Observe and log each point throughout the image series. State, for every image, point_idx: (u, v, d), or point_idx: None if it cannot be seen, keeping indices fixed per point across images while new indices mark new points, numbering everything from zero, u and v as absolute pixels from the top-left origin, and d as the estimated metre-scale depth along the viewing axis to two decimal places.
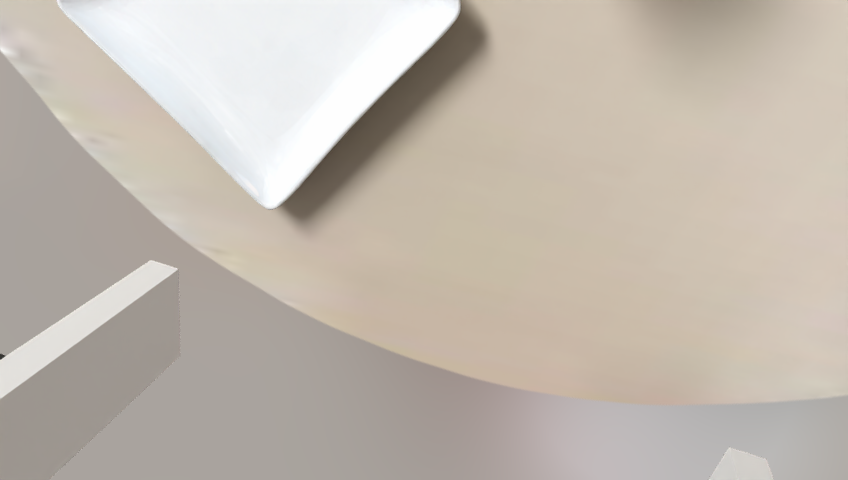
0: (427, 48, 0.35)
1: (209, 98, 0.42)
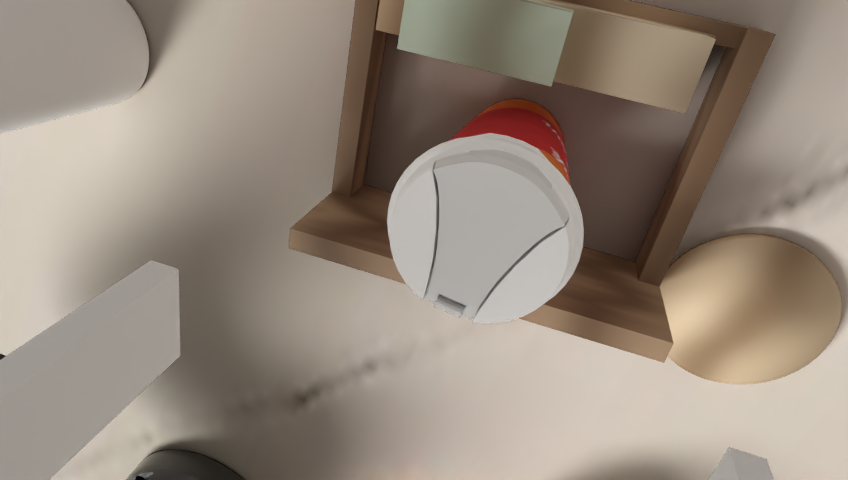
0: None
1: None
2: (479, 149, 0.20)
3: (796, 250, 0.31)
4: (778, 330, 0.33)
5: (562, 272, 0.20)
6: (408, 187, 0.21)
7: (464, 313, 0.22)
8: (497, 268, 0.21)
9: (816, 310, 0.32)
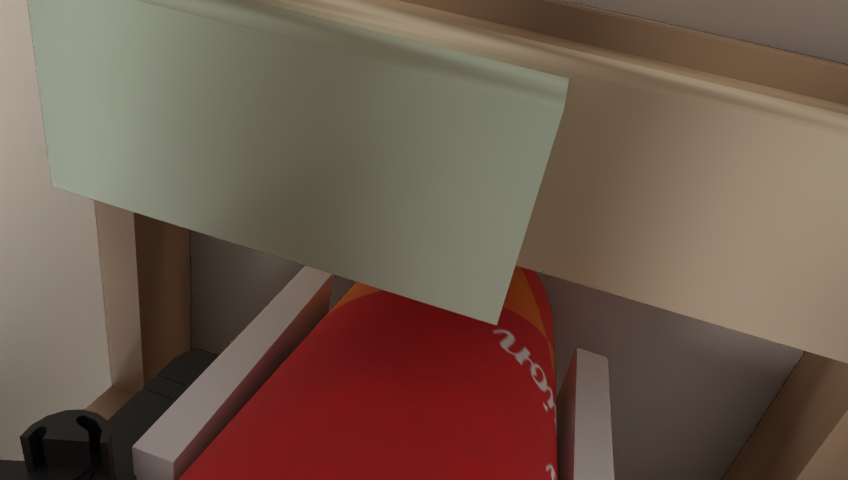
0: None
1: None
2: None
3: None
4: None
5: None
6: None
7: None
8: None
9: None
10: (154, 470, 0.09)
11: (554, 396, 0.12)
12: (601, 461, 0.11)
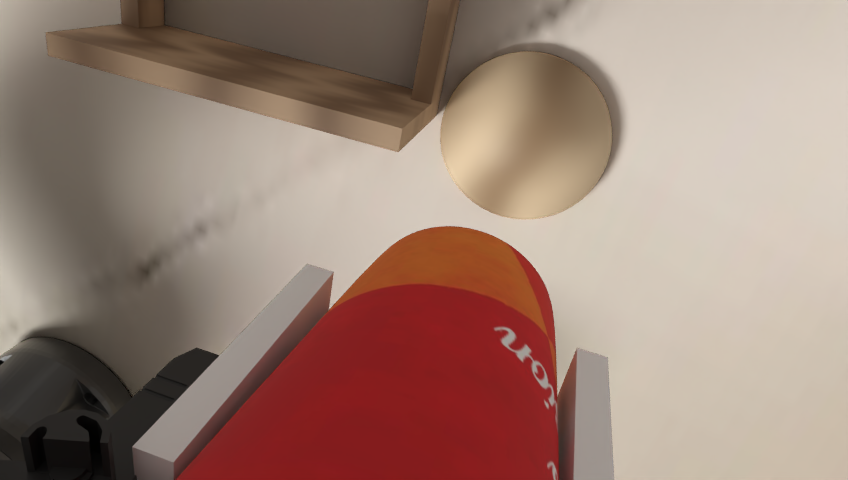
0: None
1: None
2: None
3: (561, 63, 0.31)
4: (558, 155, 0.33)
5: None
6: None
7: None
8: None
9: (589, 129, 0.32)
10: (155, 470, 0.09)
11: (555, 394, 0.12)
12: (601, 461, 0.11)
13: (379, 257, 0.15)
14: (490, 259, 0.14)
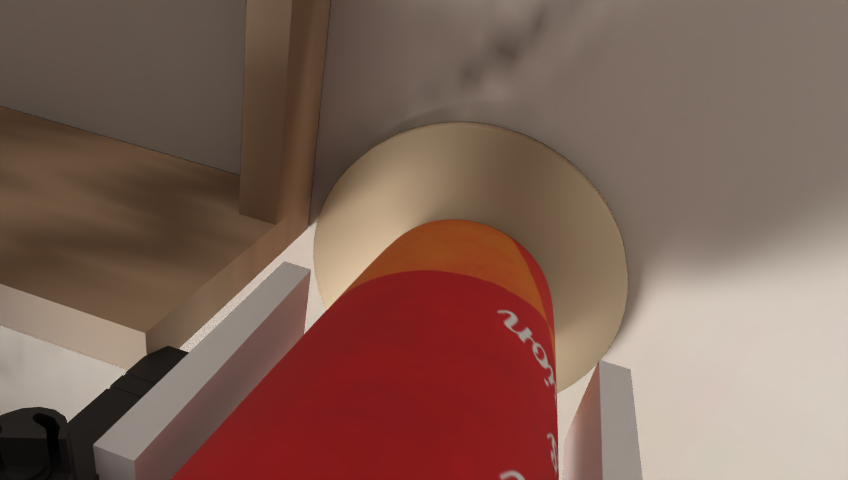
0: None
1: None
2: None
3: (526, 148, 0.15)
4: None
5: None
6: None
7: None
8: None
9: (583, 271, 0.17)
10: (116, 469, 0.09)
11: (554, 375, 0.13)
12: (630, 479, 0.10)
13: (387, 248, 0.16)
14: (493, 249, 0.14)
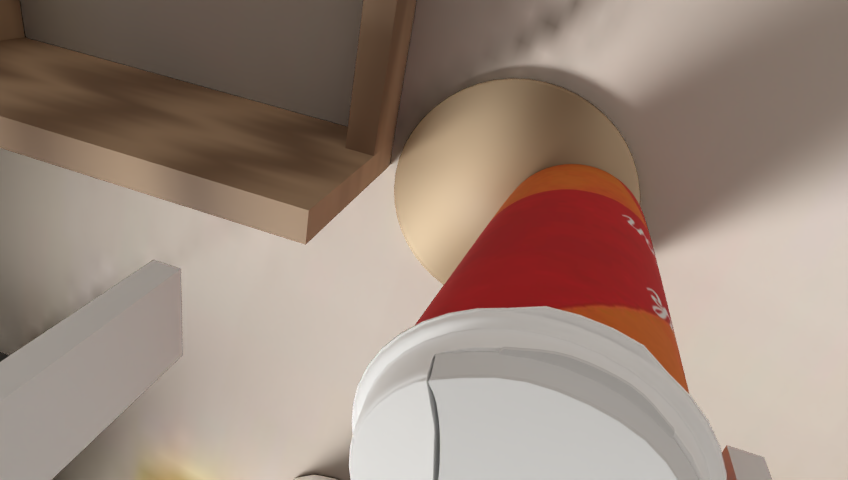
0: None
1: None
2: (523, 342, 0.10)
3: (565, 97, 0.21)
4: None
5: None
6: (380, 401, 0.11)
7: None
8: None
9: None
10: None
11: None
12: None
13: (522, 183, 0.21)
14: (607, 182, 0.20)
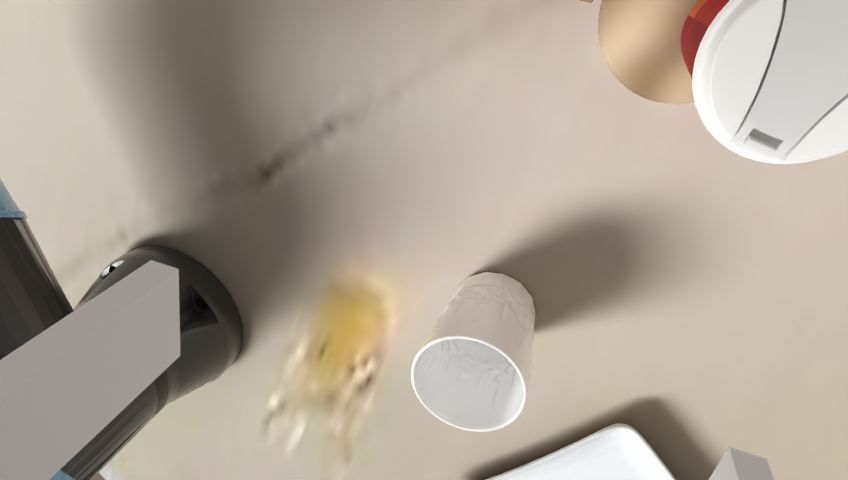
0: (653, 453, 0.44)
1: None
2: None
3: None
4: None
5: None
6: (750, 8, 0.20)
7: (775, 151, 0.22)
8: (831, 96, 0.21)
9: None
10: None
11: None
12: None
13: None
14: None
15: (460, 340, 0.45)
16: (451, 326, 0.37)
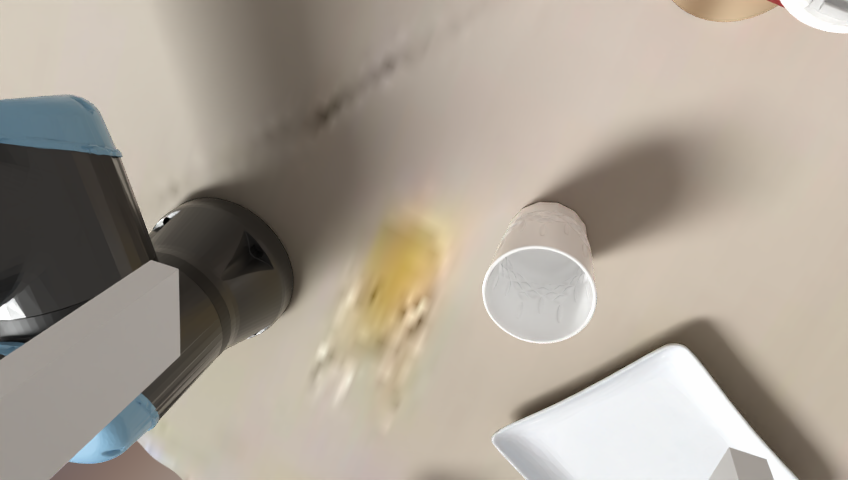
0: (704, 370, 0.47)
1: None
2: None
3: None
4: None
5: None
6: None
7: None
8: None
9: None
10: None
11: None
12: None
13: None
14: None
15: (516, 269, 0.47)
16: (521, 240, 0.39)
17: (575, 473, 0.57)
